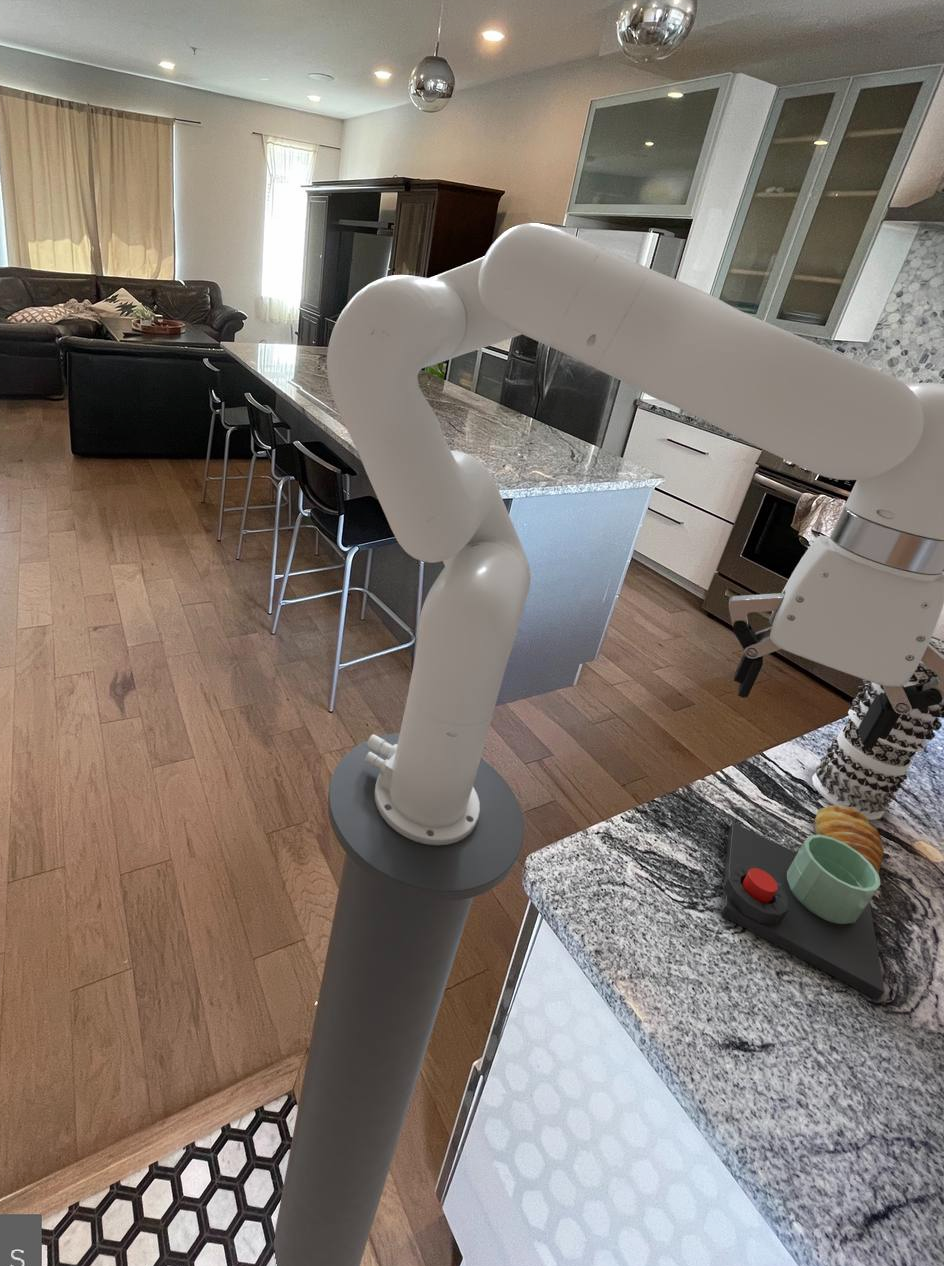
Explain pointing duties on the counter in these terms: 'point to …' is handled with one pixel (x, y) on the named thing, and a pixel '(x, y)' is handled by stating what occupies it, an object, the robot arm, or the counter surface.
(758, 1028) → the counter surface
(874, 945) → the scale
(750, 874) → the button
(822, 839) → the bowl
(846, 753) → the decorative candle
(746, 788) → the counter surface
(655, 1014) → the counter surface
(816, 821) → the pastry
